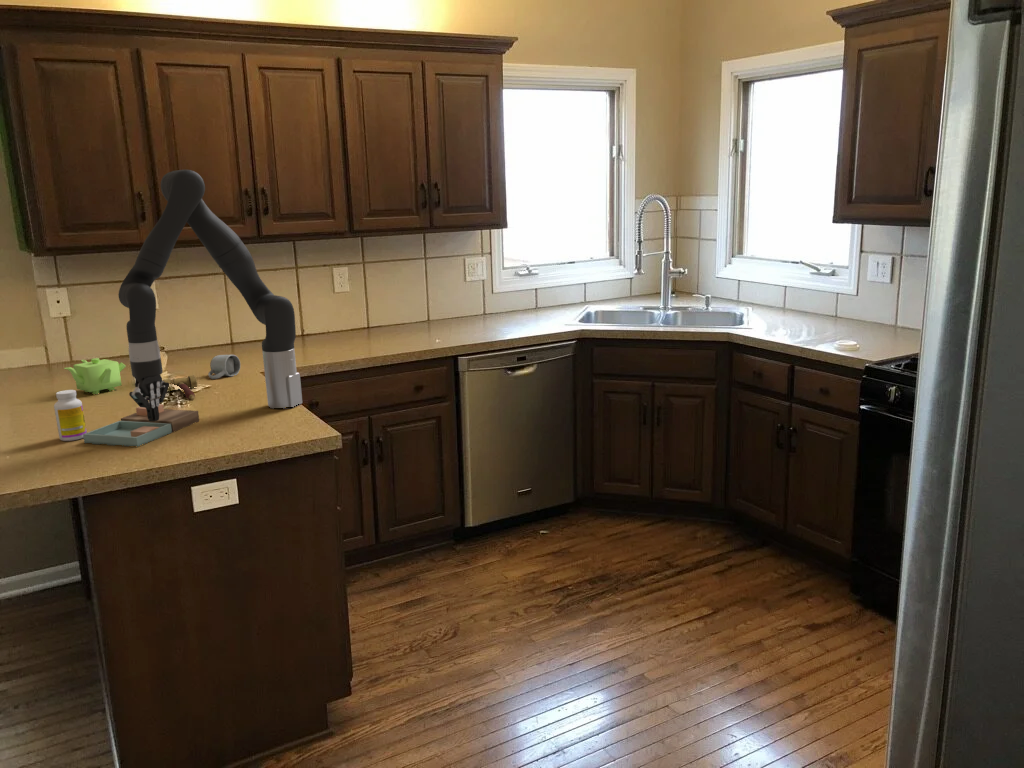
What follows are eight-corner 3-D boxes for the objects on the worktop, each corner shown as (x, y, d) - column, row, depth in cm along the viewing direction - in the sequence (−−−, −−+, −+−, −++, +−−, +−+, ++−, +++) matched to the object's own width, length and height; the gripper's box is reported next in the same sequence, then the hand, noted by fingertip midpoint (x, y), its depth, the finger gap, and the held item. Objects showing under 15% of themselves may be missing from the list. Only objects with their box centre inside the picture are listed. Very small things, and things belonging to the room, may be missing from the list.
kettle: (68, 398, 265) (62, 364, 262) (83, 388, 278) (77, 356, 276) (117, 394, 267) (112, 361, 265) (129, 385, 281) (124, 353, 278)
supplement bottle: (91, 437, 219) (84, 391, 216) (65, 443, 214) (57, 396, 211) (81, 433, 224) (74, 387, 221) (55, 438, 219) (47, 392, 216)
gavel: (208, 388, 258) (175, 394, 253) (210, 402, 259) (176, 408, 254) (193, 373, 275) (161, 378, 269) (194, 386, 276) (163, 391, 271)
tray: (172, 432, 221) (170, 423, 220) (137, 447, 209) (136, 437, 208) (120, 429, 226) (119, 420, 225) (84, 443, 214) (82, 434, 213)
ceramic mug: (224, 372, 296) (221, 351, 294) (242, 373, 293) (239, 352, 291) (203, 379, 287) (200, 358, 285) (220, 380, 283) (218, 359, 282)
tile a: (146, 432, 213) (147, 439, 213) (159, 427, 217) (160, 434, 218) (130, 431, 214) (131, 438, 215) (143, 426, 219) (145, 433, 219)
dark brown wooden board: (199, 421, 232) (198, 410, 231) (173, 432, 221) (171, 421, 221) (149, 418, 236) (148, 408, 236) (122, 428, 226) (120, 418, 226)
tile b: (163, 411, 232) (162, 404, 231) (151, 415, 227) (150, 408, 227) (149, 410, 233) (148, 403, 233) (136, 414, 229) (135, 408, 228)
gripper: (139, 363, 209) (148, 428, 213) (173, 353, 221) (182, 414, 225) (115, 362, 211) (124, 426, 215) (151, 352, 223) (159, 413, 227)
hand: (154, 420), depth 220 cm, fingers closed
